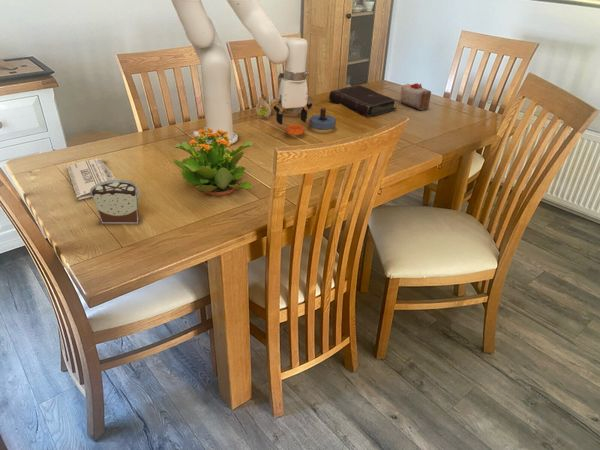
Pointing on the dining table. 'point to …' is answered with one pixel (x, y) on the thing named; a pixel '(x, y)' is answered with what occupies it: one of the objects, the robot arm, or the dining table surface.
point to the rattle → (263, 103)
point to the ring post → (322, 116)
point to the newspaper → (88, 176)
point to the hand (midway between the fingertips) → (291, 122)
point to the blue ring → (322, 122)
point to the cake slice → (116, 201)
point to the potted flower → (213, 164)
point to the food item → (415, 96)
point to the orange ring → (294, 129)
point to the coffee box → (288, 110)
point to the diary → (363, 100)
